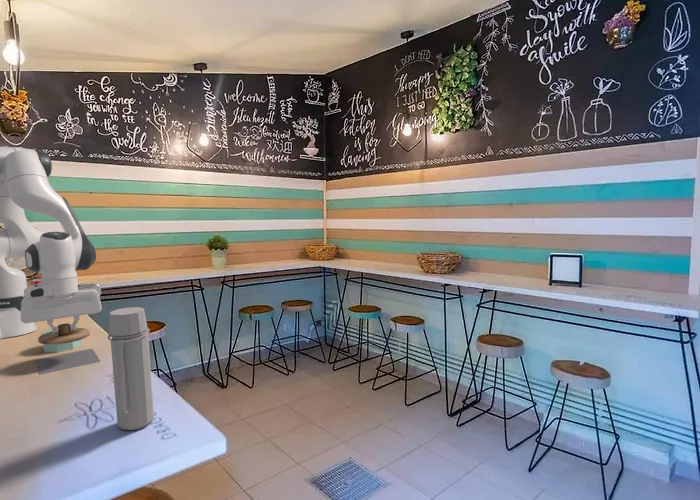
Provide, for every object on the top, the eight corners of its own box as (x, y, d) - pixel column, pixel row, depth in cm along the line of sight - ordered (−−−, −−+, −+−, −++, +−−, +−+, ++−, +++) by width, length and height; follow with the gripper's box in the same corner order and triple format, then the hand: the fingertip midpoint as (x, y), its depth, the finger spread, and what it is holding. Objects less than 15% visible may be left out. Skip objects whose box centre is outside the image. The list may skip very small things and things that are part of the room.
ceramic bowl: (36, 353, 138) (34, 335, 138) (59, 343, 148) (57, 326, 148) (66, 353, 138) (65, 335, 137) (87, 343, 148) (85, 326, 147)
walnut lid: (27, 344, 124) (25, 331, 123) (59, 330, 137) (58, 318, 136) (70, 344, 123) (69, 332, 123) (99, 330, 136) (98, 319, 136)
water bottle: (124, 416, 97) (116, 307, 94) (160, 414, 97) (153, 306, 94) (105, 438, 88) (94, 318, 85) (145, 436, 88) (136, 317, 85)
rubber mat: (36, 361, 132) (35, 359, 132) (92, 350, 141) (92, 348, 141) (39, 376, 120) (39, 374, 120) (100, 362, 129) (100, 361, 129)
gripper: (98, 280, 137) (101, 323, 139) (17, 289, 124) (22, 335, 126) (102, 284, 132) (105, 327, 134) (18, 293, 119) (22, 341, 121)
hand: (64, 331), depth 130 cm, fingers closed on walnut lid, 3 cm apart
